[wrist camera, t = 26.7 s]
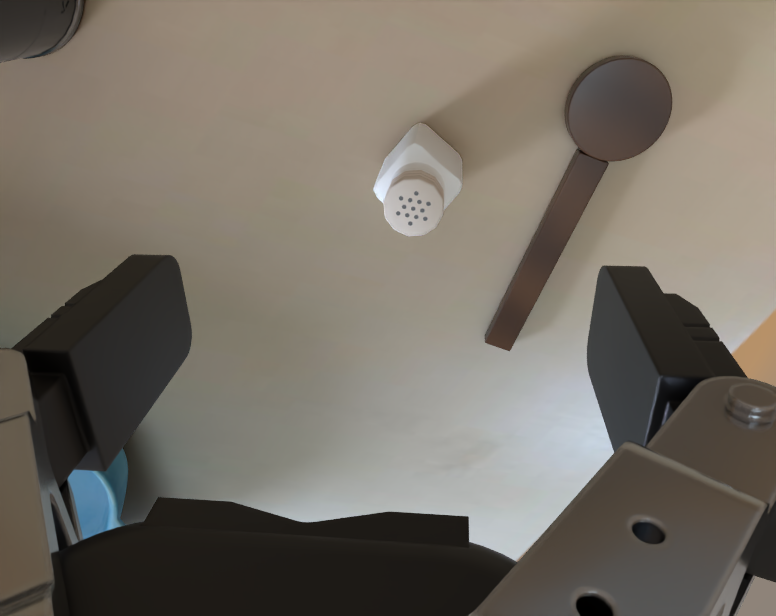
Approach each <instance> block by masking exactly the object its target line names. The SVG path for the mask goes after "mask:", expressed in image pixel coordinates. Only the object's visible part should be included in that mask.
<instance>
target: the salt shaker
mask: <svg viewBox="0 0 776 616" xmlns="http://www.w3.org/2000/svg"><path fill="white" fill-rule="evenodd" d="M462 185H463V177H462V159H461V157H460V154H459V153H458V152H457V151H455V150H454V149H453V148H452V147H451V146H450V145H449V144H448V143H446V142H445V141H444V140H443V139H442V138H441V137H440V136H439V135H438V134H436V133H435V132H434V131H433V130H432V129H431V128H430V127H429V126H427V125H426V124H423V123H420V122H419V123H417V124H415V125H414V126H412V128H411V129H410V130H409V131H408V132H407V134H406V135H405V136H404V137H403V138H402V139H401V141H400V142H399V143H398V144H397V145H396V146H395V148H394V149H393V150H392V151H391V152H390V153H389V155H388V156H387V157H386V158H385V160H384V163H383V165H382V168H381V170H380V173H379V175H378V177H377V180H376V182H375V186H374V189H373V190H374V192H375V194H376V196H377V198H378V199H379V200H380V201H381V202H382V203H383V204H384V215H385V218H386V220H387V221H388V222H389V224H390V225H391V227H392V228H393V229H394V230H396V231H398V232H400V233H402V234H404V235H406V236H423V235H425V234H426V233H428V232H430V231H431V230H433V229H435V228H436V227H437V225H438V223H439V222H440V220H441V218H442V216H443V214H444V210H445V209H446V207H447V206H448V205H449V204H450V203H451V202H452V201H453V200H454V198H455V197H456V196H457V195H458V194H459V193H460V190H461V187H462Z"/></svg>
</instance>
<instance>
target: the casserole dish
mask: <svg viewBox="0 0 776 616" xmlns="http://www.w3.org/2000/svg"><path fill="white" fill-rule="evenodd" d="M68 480H69V483H70V486H71V488H72V491H73V495H74V499H75V504H76V508H77V513H78V517H79V522H80V526H81V531H82V535H83V540H84V539H86V538H89V537H91V536H93V535H96V534H98V533H101V532H104V531H107V530H110V529H114V528H117V527H121V526H125V523H124V522H123V521H122V520H121V519H120V517H121V513H122V508H123V504H124V499H125V494H126V488H127V480H128V464H127V458H126V455H125V452H124V450H123V448H122V449H121V451H120V452H119V454H118V455H117V456H116V458H115V459H114V461H113V462H112V464H111V465H110V466H109V468H108V469H107V471H106V472H105V471H88V470H73V472H72V473H71V474H70V475H69V477H68Z"/></svg>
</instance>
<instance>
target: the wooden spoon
mask: <svg viewBox="0 0 776 616" xmlns="http://www.w3.org/2000/svg"><path fill="white" fill-rule="evenodd" d="M671 110H672V94H671V89H670V86H669V83H668V81H667V80H666V78H665V76H664V75H663V74H662V72H661V71H660V70H659V69H658V68H657V67H655V66H654V65H652V64H651V63H649V62H646V61H644V60H642V59H640V58H637V57H633V56H614V57H610V58H606V59H604V60H601V61H599V62H597V63H595V64H594V65H592V66H591V67H589V68H588V69H587V70H586V71H585V72H583V73H582V74H581V76H580V77H579V78H578V79H577V80H576V82H575V83H574V85H573V87H572V88H571V90H570V93H569V95H568V98H567V101H566V107H565V121H566V126H567V129H568V132H569V134H570V136H571V137H572V139H573V141H574V142H575V144H576V145H577V146H578V147H579V148H580V149H581V150H580V149H577V150H576V153H575V155H574V157H573V159H572V161H571V163H570V165H569V167H568V169H567V171H566V173H565V175H564V177H563V179H562V181H561V183H560V185H559V187H558V189H557V191H556V193H555V195H554V197H553V199H552V201H551V203H550V205H549V207H548V209H547V211H546V213H545V215H544V217H543V219H542V221H541V223H540V225H539V227H538V229H537V231H536V233H535V235H534V237H533V239H532V241H531V243H530V245H529V247H528V249H527V251H526V253H525V255H524V257H523V259H522V262H521V264H520V266H519V268H518V270H517V272H516V274H515V276H514V278H513V280H512V282H511V284H510V286H509V288H508V290H507V292H506V294H505V296H504V298H503V300H502V302H501V304H500V306H499V308H498V310H497V312H496V314H495V316H494V318H493V320H492V322H491V324H490V326H489V328H488V330H487V332H486V334H485V343H487V344H490V345H493V346H496V347H499V348H502V349H505V350H508V351H510V350H511V348H512V346H513V344H514V342H515V340H516V338H517V337H518V335H519V333H520V331H521V329H522V327H523V325H524V323H525V321H526V320H527V318H528V316H529V314H530V312H531V310H532V308H533V306H534V304H535V302H536V301H537V299H538V297H539V295H540V293H541V291H542V289H543V287H544V285H545V284H546V282H547V280H548V278H549V276H550V274H551V272H552V270H553V268H554V266H555V265H556V263H557V261H558V259H559V257H560V255H561V253H562V251H563V249H564V248H565V246H566V244H567V242H568V240H569V238H570V236H571V234H572V232H573V230H574V229H575V227H576V225H577V223H578V221H579V219H580V217H581V215H582V213H583V212H584V210H585V208H586V206H587V204H588V202H589V200H590V198H591V196H592V194H593V193H594V191H595V189H596V187H597V185H598V183H599V181H600V179H601V177H602V175H603V174H604V172H605V170H606V168H607V166H608V162H607V161H621V160H625V159H629V158H632V157H634V156H636V155H638V154H640V153H642V152H643V151H645V150H646V149H648V148H649V147H650V146H651V145H652V144H653V143H654V142H656V141H657V139H658V138H659V137H660V136H661V134H662V133H663V131H664V129H665V127H666V125H667V123H668V121H669V118H670V114H671Z"/></svg>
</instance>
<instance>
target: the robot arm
mask: <svg viewBox="0 0 776 616" xmlns="http://www.w3.org/2000/svg"><path fill="white" fill-rule="evenodd" d="M83 6H84V0H0V63H1V62H6V61H11V60H16V59H21V58H23V59H27V58H35V57H40V56H45V55H48V54H51V53H53V52H55V51H57V50H58V49H60V48H61V47H63V46H64V45H65V44H66V43H67V42H68V41H69V40H70V39H71V37H72V36H73V35H74V33H75V31H76V29H77V28H78V25H79V23H80V20H81V16H82V12H83ZM191 340H192V328H191V322H190V317H189V312H188V307H187V302H186V297H185V292H184V287H183V282H182V277H181V272H180V268H179V265H178V262H177V260H176V259H175V258H174V257H173V256H171V255H136V254H134V255H131V256H129V257H128V258H127V259H126V260H125V261H124V262H122V263H121V264H120V265H119V266H118V267H117V268H115V269H114V270H113V271H112V272H111V273H110V274H108V275H107V276H106V277H105V278H104V279H103V280H100V281H98V282H96V283H94V284H92V285H90V286H88V287H86V288H84V289H82V290H80V291H79V292H78V293H77V294H76V295H74V296H73V297H72V298H71V299H70V300H68V301H67V302H66V303H65V306H61V307H60V308H59V309H58V310H57V311H55V312H54V313H53V314H52V315H51V318H47V319H46V320H45V321H44V322H42V323H41V324H40V325H39V326H38V327H36V328H35V329H34V330H33V331H32V332H30V333H29V334H28V335H27V336H26V337H25V338H23V339H22V340H21V341H20V342H19V343H17V344H16V345H15V346H14V347H13V348H11V349H8V348H0V616H736V615H737V613H738V611H739V609H740V607H741V605H742V603H743V601H744V599H745V597H746V595H747V592H748V590H749V588H750V586H751V584H752V582H753V580H754V577H755V576H757V577H761V578H764V579H767V580H770V581H773V582H776V387H775V386H772V385H770V384H767V383H764V382H761V381H758V380H754V379H749V378H747V376H746V375H745V373H744V372H743V370H742V369H741V368H740V366H739V365H738V364H737V362H736V361H735V359H734V358H733V356H732V355H731V354H730V352H729V351H728V349H727V348H726V346H725V345H724V344H723V342H721V341H719V337H718V335H717V334H716V332H715V331H714V330H713V328H710V324H709V323H708V321H707V320H706V318H705V317H704V315H703V314H702V313H701V311H700V310H699V308H697V307H696V306H694V305H693V304H691V303H690V302H688V301H686V300H685V299H683V298H682V297H680V296H679V295H677V294H664V293H663V292H662V290H661V289H660V287H659V285H658V284H657V282H656V281H655V279H654V278H653V276H652V274H651V273H650V271H649V270H648V268H647V267H640V266H602V267H601V269H600V271H599V274H598V279H597V285H596V291H595V298H594V304H593V311H592V317H591V324H590V330H589V336H588V344H587V365H588V372H589V376H590V379H591V382H592V385H593V388H594V391H595V394H596V397H597V400H598V404H599V407H600V410H601V413H602V416H603V419H604V422H605V425H606V428H607V432H608V435H609V438H610V441H611V444H612V447H613V450H614V454H613V455H612V456H611V457H610V459H609V460H608V461H607V462H606V463H605V464H604V465H603V466H602V468H601V469H600V470H599V471H598V472H597V473H596V474H595V475H594V477H593V478H592V479H591V480H590V481H589V482H588V483H587V485H586V486H585V487H584V488H583V489H582V490H581V491H580V492H579V494H578V495H577V496H576V497H575V498H574V499H573V500H572V501H571V503H570V504H569V505H568V506H567V507H566V508H565V509H564V511H563V512H562V513H561V514H560V515H559V516H558V517H557V518H556V520H555V521H554V522H553V523H552V524H551V525H550V526H549V527H548V529H547V530H546V531H545V532H544V533H543V534H542V535H541V537H540V538H539V539H538V540H537V541H536V542H535V543H534V544H533V546H532V547H531V548H530V549H529V550H528V551H527V552H526V553H525V555H524V556H523V557H522V558H521V559H520V560H519V561H518V562H516V561H514V560H512V559H511V558H509V557H507V556H505V555H503V554H501V553H498V552H496V551H494V550H491V549H489V548H486V547H484V546H481V545H477V544H474V543H471V542H469V518H468V517H467V516H451V515H435V514H419V513H403V512H383V513H376V514H369V515H362V516H354V517H347V518H340V519H333V520H326V521H319V522H309V523H306V522H299V521H295V520H291V519H288V518H285V517H281V516H278V515H274V514H271V513H268V512H264V511H261V510H257V509H254V508H251V507H247V506H244V505H240V504H237V503H234V502H226V501H210V500H194V499H178V498H162V497H158V498H157V500H156V502H155V503H154V505H153V507H152V509H151V510H150V512H149V514H148V516H147V517H146V519H145V521H144V522H138V523H133V524H129V525H125V526H121V527H117V528H114V529H110V530H107V531H104V532H101V533H98V534H96V535H93V536H91V537H89V538H86V539H84V540H83V535H82V531H81V526H80V522H79V517H78V513H77V508H76V504H75V499H74V495H73V491H72V488H71V486H70V483H69V480H68V477H69V475H70V474H71V473H72V472H73V470H88V471H105V472H106V471H107V469H108V468H109V466H110V465H111V464H112V462H113V461H114V459H115V458H116V456H117V455H118V454H119V452H120V451H121V449H122V448H123V447H124V445H125V444H126V442H127V441H128V440H129V438H130V437H131V435H132V434H133V432H134V431H135V430H136V428H137V427H138V425H139V424H140V423H141V421H142V420H143V418H144V417H145V415H146V414H147V413H148V411H149V410H150V408H151V407H152V406H153V404H154V403H155V401H156V400H157V399H158V397H159V396H160V394H161V393H162V391H163V390H164V389H165V387H166V386H167V384H168V383H169V382H170V380H171V379H172V377H173V376H174V374H175V373H176V372H177V370H178V369H179V367H180V366H181V365H182V363H183V362H184V360H185V359H186V357H187V356H188V353H189V350H190V347H191Z"/></svg>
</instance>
